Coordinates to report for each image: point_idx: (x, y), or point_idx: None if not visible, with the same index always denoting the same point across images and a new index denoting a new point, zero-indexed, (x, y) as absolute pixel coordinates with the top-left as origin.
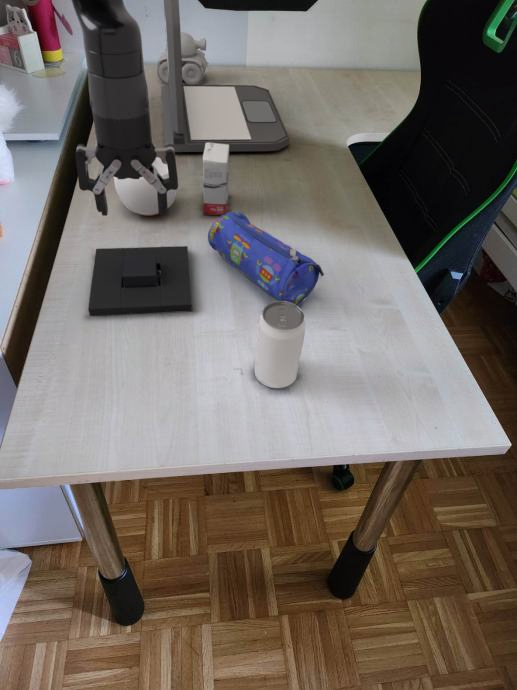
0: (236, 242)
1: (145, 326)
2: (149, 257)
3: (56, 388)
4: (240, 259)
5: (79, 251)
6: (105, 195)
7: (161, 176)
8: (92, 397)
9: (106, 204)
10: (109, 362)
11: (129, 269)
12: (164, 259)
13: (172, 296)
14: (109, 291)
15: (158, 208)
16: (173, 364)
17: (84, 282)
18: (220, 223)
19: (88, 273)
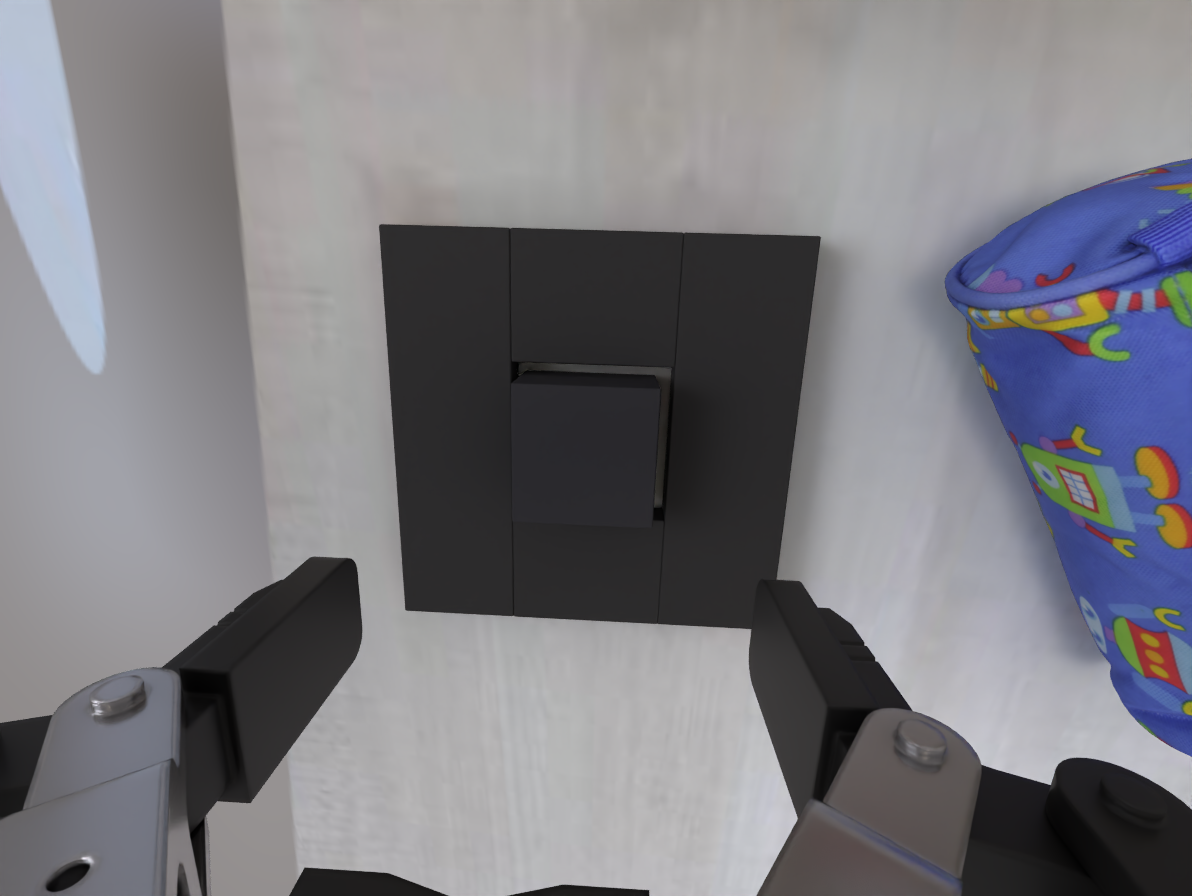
0: (1127, 479)
1: (599, 658)
2: (630, 399)
3: (373, 829)
4: (1074, 513)
5: (309, 188)
6: (282, 640)
7: (969, 833)
8: (464, 864)
9: (326, 619)
10: (497, 773)
11: (540, 479)
12: (696, 340)
13: (704, 580)
14: (469, 530)
15: (763, 715)
16: (674, 802)
17: (370, 415)
18: (1114, 321)
19: (376, 358)
